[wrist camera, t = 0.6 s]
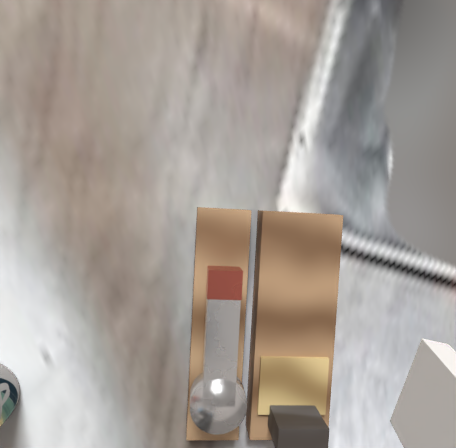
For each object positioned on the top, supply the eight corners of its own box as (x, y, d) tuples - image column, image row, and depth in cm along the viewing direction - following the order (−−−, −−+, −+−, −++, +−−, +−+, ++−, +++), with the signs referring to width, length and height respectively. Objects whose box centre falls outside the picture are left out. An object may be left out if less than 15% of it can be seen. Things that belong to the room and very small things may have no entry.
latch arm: (242, 419, 33) (245, 434, 31) (188, 419, 32) (188, 434, 30) (250, 267, 32) (254, 271, 30) (196, 265, 32) (196, 269, 30)
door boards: (318, 424, 38) (344, 470, 32) (186, 424, 37) (185, 471, 30) (332, 214, 37) (363, 217, 30) (197, 207, 36) (198, 209, 29)
